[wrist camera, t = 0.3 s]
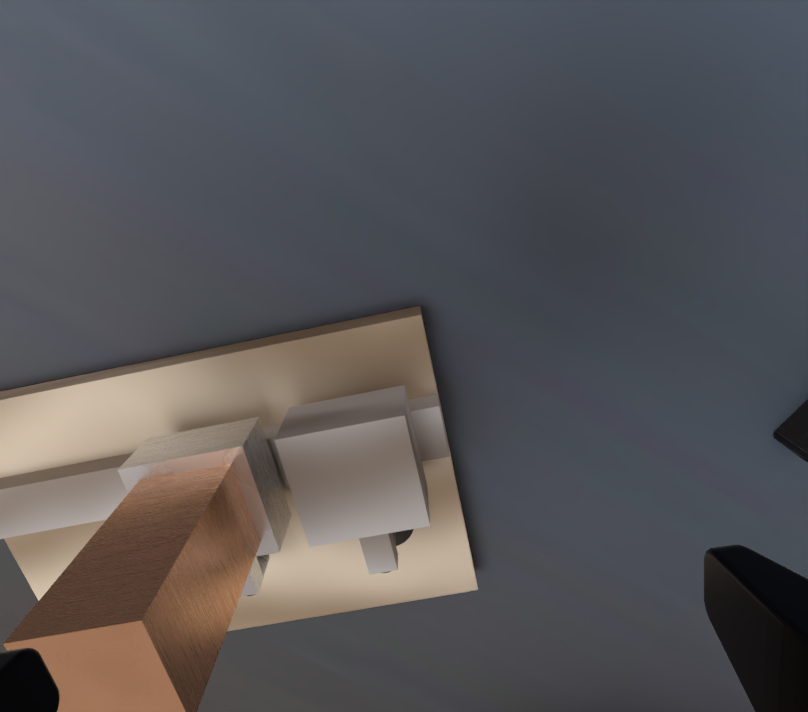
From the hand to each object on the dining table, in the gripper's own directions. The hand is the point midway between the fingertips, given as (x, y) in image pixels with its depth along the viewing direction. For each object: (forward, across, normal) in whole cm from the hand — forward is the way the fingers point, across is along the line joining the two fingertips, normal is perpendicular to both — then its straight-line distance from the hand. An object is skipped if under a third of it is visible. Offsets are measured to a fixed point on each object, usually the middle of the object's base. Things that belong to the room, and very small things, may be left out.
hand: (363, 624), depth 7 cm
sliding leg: (+11, +7, +5) cm, 14 cm away
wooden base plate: (+13, +8, +5) cm, 16 cm away
